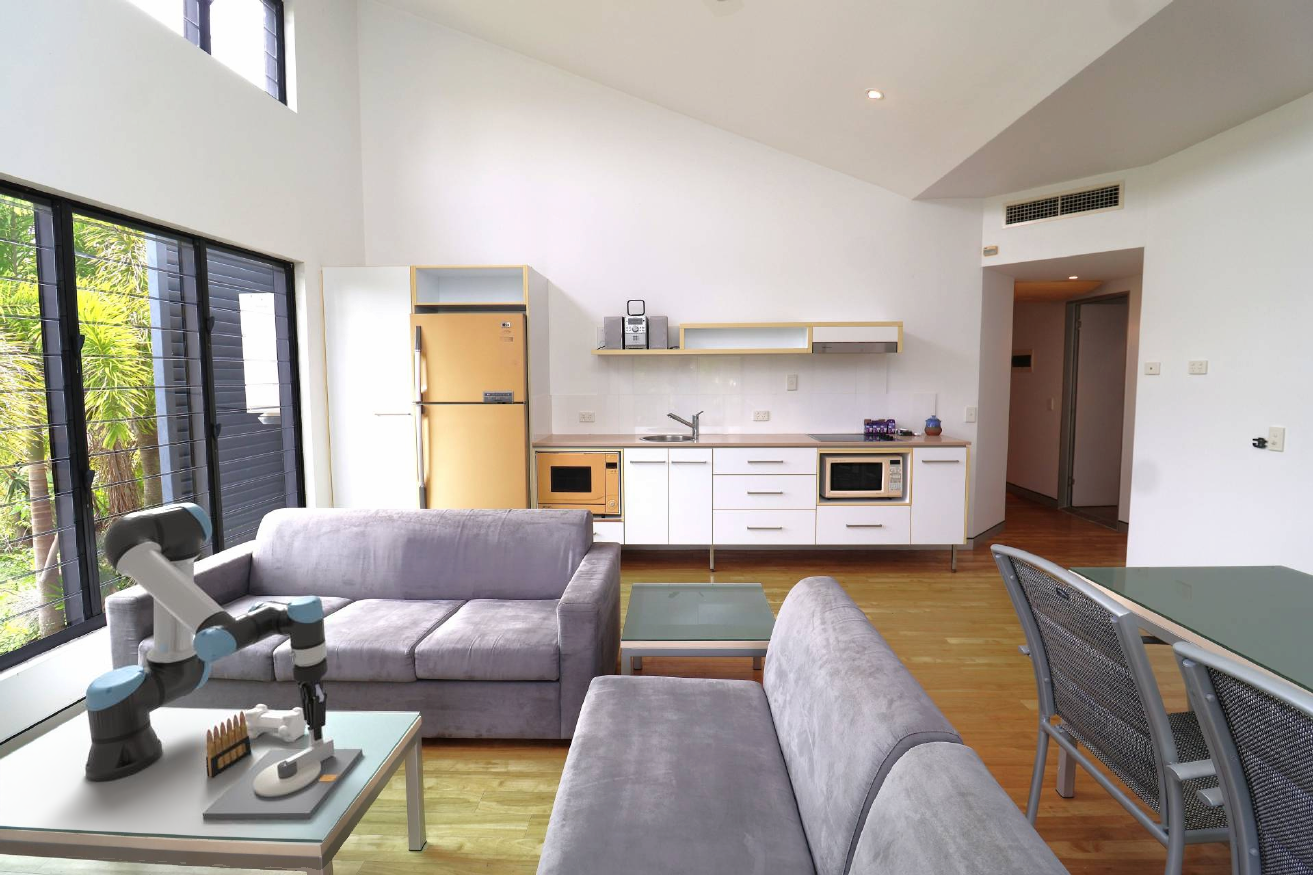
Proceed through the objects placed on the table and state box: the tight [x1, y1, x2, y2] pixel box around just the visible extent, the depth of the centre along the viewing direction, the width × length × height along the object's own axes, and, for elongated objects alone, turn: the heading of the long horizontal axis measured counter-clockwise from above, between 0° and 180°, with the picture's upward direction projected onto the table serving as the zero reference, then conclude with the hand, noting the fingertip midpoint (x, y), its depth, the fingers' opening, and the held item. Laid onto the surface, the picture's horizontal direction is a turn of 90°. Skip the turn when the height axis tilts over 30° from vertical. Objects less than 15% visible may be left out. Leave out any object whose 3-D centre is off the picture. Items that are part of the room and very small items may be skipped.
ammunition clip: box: [205, 710, 252, 779], centre depth 162 cm, size 11×2×12 cm, turn 163°
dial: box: [253, 737, 335, 797], centre depth 155 cm, size 18×14×4 cm
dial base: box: [202, 748, 363, 821], centre depth 154 cm, size 24×24×2 cm
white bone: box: [244, 703, 308, 744], centre depth 175 cm, size 15×9×8 cm, turn 78°
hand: (317, 749), depth 161 cm, fingers closed
